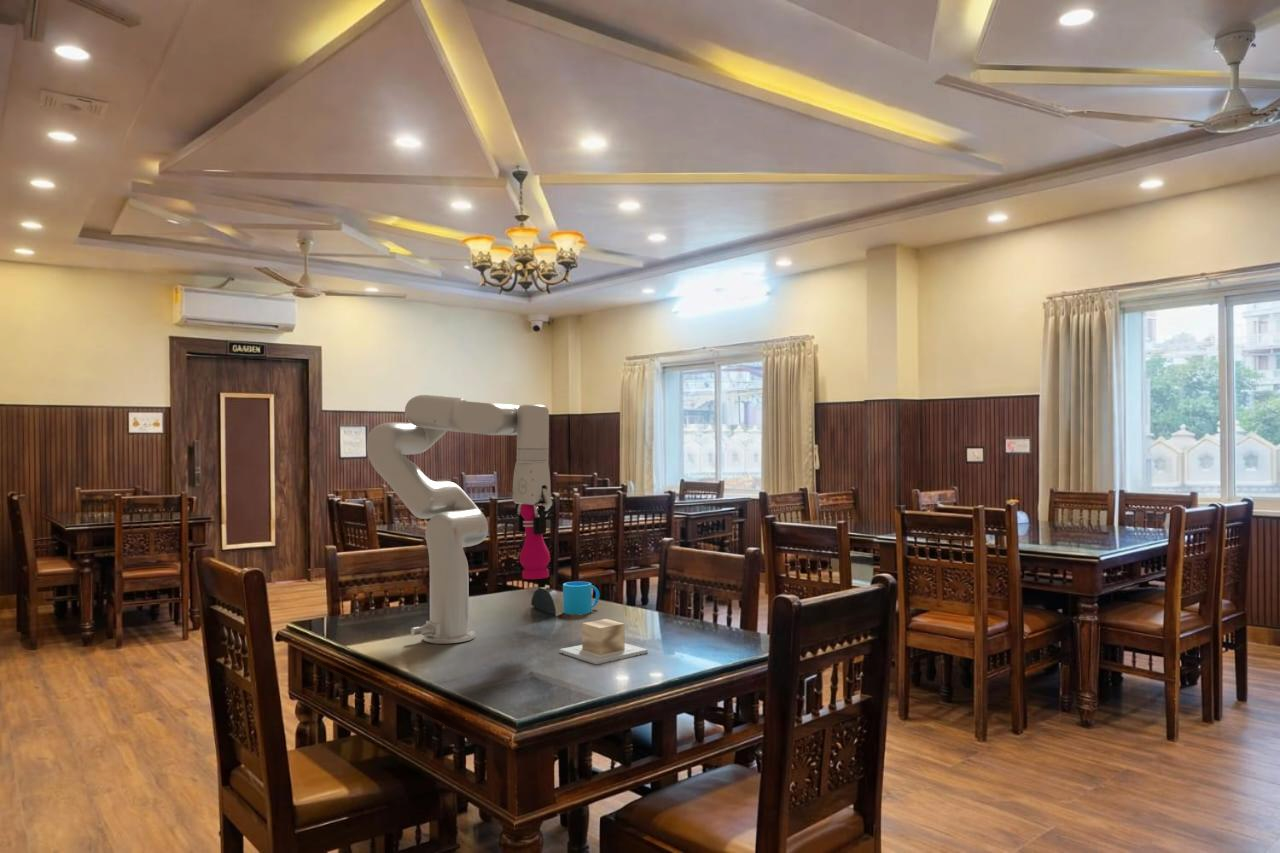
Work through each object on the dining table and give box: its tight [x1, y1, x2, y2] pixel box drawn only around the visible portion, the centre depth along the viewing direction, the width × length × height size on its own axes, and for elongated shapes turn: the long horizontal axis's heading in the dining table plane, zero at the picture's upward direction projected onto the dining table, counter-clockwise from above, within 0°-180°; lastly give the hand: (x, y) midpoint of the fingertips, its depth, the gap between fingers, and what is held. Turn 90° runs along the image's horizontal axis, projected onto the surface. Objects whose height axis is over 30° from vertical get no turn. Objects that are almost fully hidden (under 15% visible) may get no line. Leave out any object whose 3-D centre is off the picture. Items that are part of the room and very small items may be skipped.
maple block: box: [581, 618, 626, 655], centre depth 196 cm, size 7×7×6 cm
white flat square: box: [559, 642, 649, 665], centre depth 196 cm, size 15×14×1 cm
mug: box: [562, 581, 601, 615], centre depth 244 cm, size 12×8×8 cm
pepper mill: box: [519, 502, 551, 580], centre depth 201 cm, size 7×7×20 cm
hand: (532, 531), depth 201 cm, fingers closed on pepper mill, 5 cm apart
